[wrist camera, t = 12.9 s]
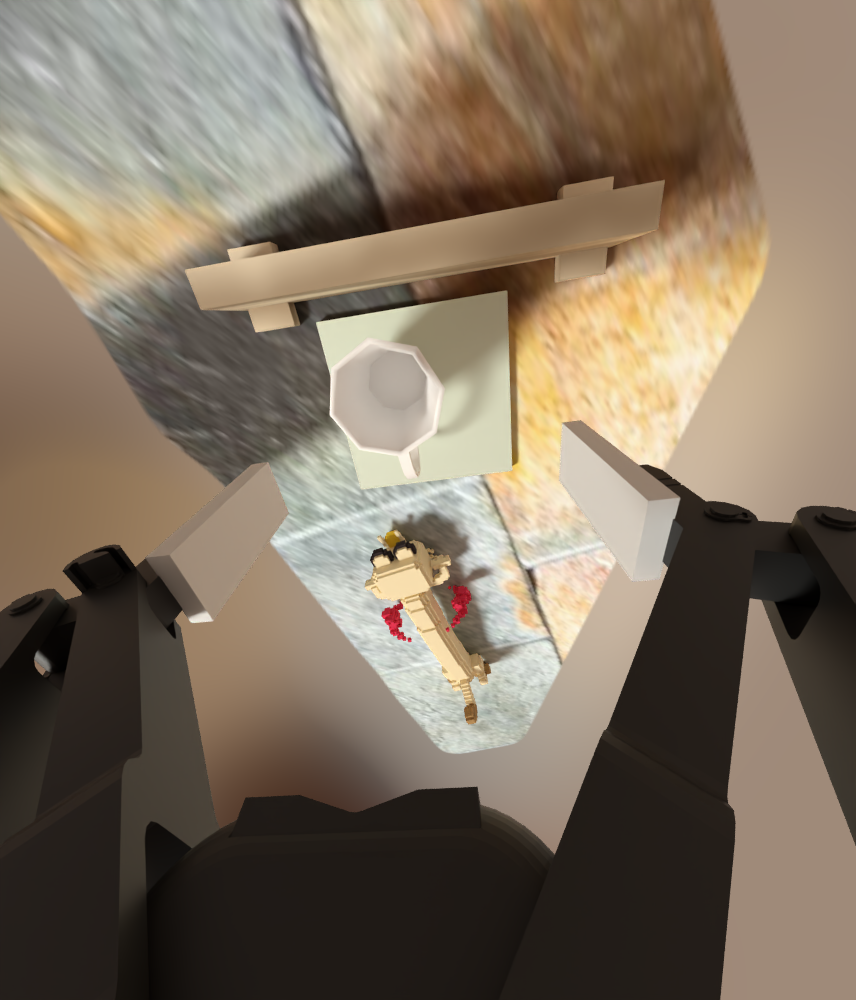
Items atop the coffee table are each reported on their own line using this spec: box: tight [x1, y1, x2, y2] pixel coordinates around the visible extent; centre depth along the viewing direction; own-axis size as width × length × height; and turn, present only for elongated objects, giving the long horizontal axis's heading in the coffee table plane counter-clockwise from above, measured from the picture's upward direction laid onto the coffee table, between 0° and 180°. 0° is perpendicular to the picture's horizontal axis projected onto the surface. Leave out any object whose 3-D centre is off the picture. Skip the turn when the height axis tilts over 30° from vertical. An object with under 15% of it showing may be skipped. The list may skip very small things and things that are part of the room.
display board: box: [316, 290, 512, 489], centre depth 28 cm, size 14×14×1 cm
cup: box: [330, 337, 445, 479], centre depth 24 cm, size 7×10×8 cm
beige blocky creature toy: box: [365, 530, 491, 724], centre depth 37 cm, size 10×9×25 cm
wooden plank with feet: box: [185, 176, 665, 332], centre depth 21 cm, size 5×26×6 cm, turn 98°
